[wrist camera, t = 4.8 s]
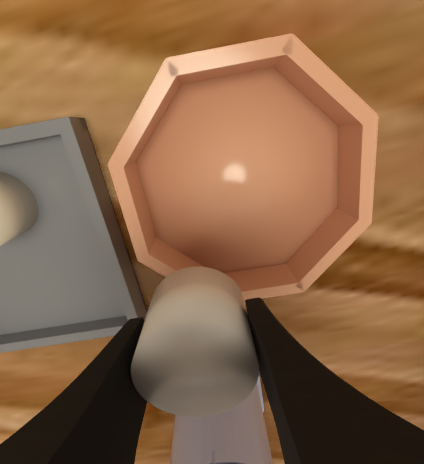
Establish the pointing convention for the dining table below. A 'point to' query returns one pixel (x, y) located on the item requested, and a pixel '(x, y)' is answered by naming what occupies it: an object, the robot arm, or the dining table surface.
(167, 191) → the bowl
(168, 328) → the white marshmallow
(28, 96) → the dining table surface
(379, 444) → the robot arm
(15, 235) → the sandy stone
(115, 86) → the dining table surface
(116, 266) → the parts tray
